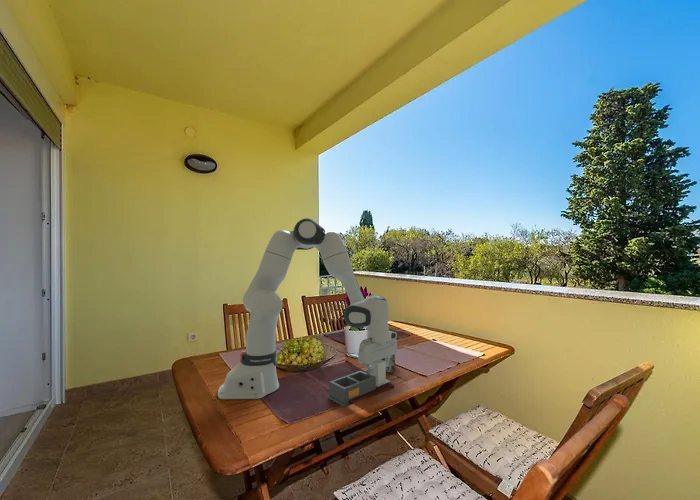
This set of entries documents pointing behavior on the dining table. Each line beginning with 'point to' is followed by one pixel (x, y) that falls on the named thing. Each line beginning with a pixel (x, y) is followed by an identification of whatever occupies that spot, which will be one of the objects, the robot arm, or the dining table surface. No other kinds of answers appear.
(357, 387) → the slot rack
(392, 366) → the coffee box
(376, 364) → the peg
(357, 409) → the dining table surface
